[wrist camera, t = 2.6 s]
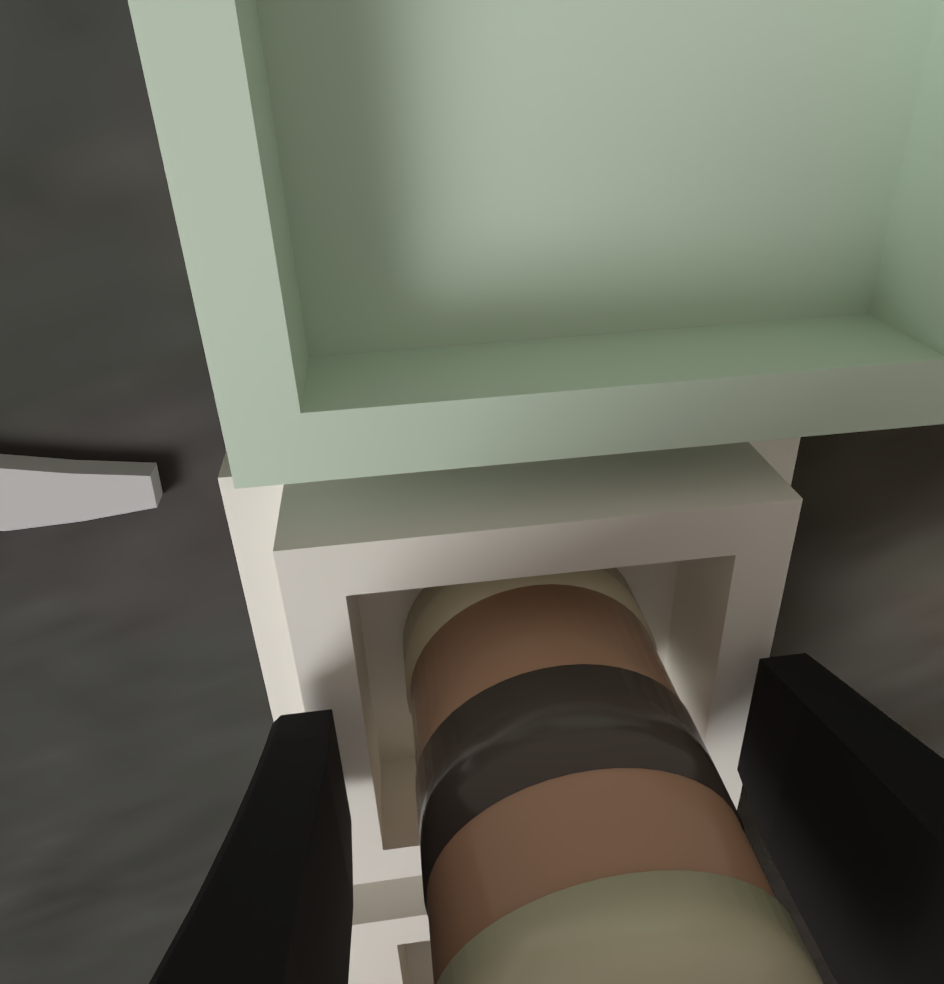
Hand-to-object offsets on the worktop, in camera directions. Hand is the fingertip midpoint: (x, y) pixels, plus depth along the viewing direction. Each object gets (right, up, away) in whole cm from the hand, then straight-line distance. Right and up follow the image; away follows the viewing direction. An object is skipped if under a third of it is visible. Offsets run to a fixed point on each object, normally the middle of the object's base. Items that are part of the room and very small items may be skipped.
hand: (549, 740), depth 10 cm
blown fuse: (0, +1, +2) cm, 2 cm away
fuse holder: (0, -2, +4) cm, 4 cm away
